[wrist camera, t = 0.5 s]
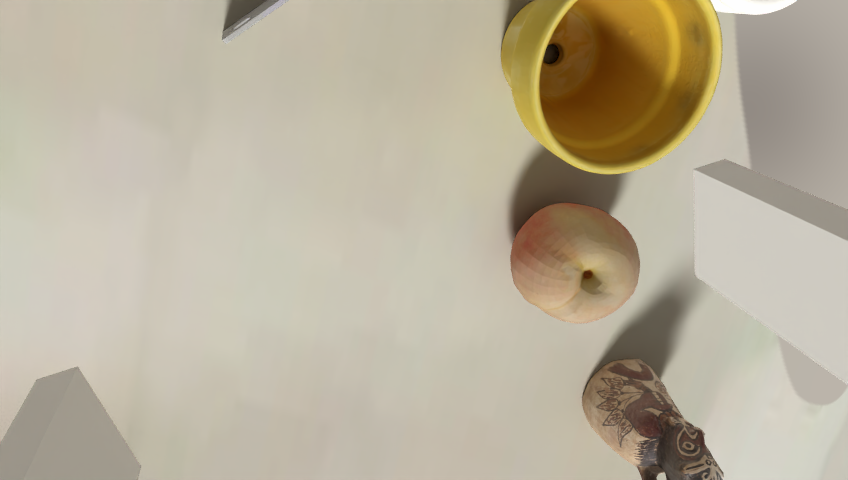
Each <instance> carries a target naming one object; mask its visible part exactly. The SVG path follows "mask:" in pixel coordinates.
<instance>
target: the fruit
mask: <svg viewBox="0 0 848 480" xmlns="http://www.w3.org/2000/svg"><path fill="white" fill-rule="evenodd" d="M639 270H640V260H639V254H638V249H637V246H636V243H635V241H634V239H633V238H632V236H631V234H630V233H629V231H628V230H627V229H626V228H625V227H624V226H623V225H622V224H621V223H620V222H619V221H618V220H616V219H615V218H614V217H612V216H611V215H609V214H608V213H606V212H605V211H603V210H601V209H598V208H594V207H590V206H586V205H581V204H575V203H558V204H552V205H549V206H547V207H544V208H542V209H541V210H539V211H537V212H536V213H535V214H534V215H533V216H532V217H530V218H529V219H528V220H527V222H526V223H525V224H524V225H523V226H522V228H521V229H520V230H519V232H518V233H517V235H516V237H515V240H514V242H513V246H512V251H511V271H512V276H513V281H514V284H515V286H516V287H517V289H518V290H519V291H520V293H521V294H522V295H523V297H524V298H525V299H526V300H527V301H528V302H529V303H531V304H533V305H535V306H537V307H538V308H540V309H541V310H543V311H544V312H545V313H547V314H548V315H550V316H552V317H554V318H557V319H559V320H562V321H566V322H571V323H588V322H592V321H595V320H599V319H601V318H603V317H605V316H607V315H609V314H611V313H613V312H614V311H616V310H617V309H618V308H620V307H621V306H622V305H623V304H624V303H625V302H626V301H627V300H628V299H629V298H630V296H631V295H632V294H633V292H634V290H635V288H636V286H637V283H638V277H639Z"/></svg>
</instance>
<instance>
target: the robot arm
mask: <svg viewBox="0 0 848 480" xmlns="http://www.w3.org/2000/svg"><path fill="white" fill-rule="evenodd" d="M694 250H695V276H696V277H697V278H699V279H700V280H701V281H703V282H704V283H706V284H707V285H708V286H710V287H711V288H713V289H714V290H715V291H717V292H718V293H720V294H721V295H722V296H724V297H725V298H727V299H728V300H729V301H731V302H732V303H734V304H735V305H736V306H738V307H739V308H741V309H742V310H743V311H745V312H746V313H748V314H749V315H750V316H752V317H753V318H755V319H756V320H757V321H759V322H760V323H762V324H763V325H764V326H766V327H767V328H769V329H770V330H771V331H773V332H774V333H776V334H777V335H778V336H780V337H781V338H783V339H784V340H785V341H787V342H788V343H790V344H791V345H792V346H794V347H795V348H797V349H798V350H799V351H801V352H802V353H804V354H805V355H806V356H808V357H809V358H811V359H812V360H814V361H815V362H816V363H818V364H819V365H820V366H822V367H823V368H825V369H826V370H827V371H829V372H830V373H832V374H833V375H834V376H836V377H837V378H839V379H840V380H841V381H843V382H844V383H846V384H847V385H848V209H845V208H843V207H840V206H838V205H835V204H833V203H830V202H828V201H826V200H823V199H821V198H818V197H816V196H814V195H811V194H809V193H806V192H804V191H801V190H799V189H797V188H794V187H792V186H789V185H787V184H784V183H782V182H780V181H777V180H775V179H772V178H770V177H767V176H765V175H763V174H760V173H757V172H755V171H753V170H750V169H748V168H746V167H743V166H741V165H738V164H736V163H733V162H731V161H729V160H726V159H724V160H721V161H717V162H714V163H711V164H708V165H705V166H702V167H699V168H696V169H694ZM140 468H141V465H140V463H139V462H138V460H137V459H136V457H135V456H134V454H133V452H132V451H131V449H130V448H129V446H128V445H127V443H126V441H125V440H124V438H123V437H122V435H121V434H120V432H119V431H118V429H117V427H116V426H115V424H114V423H113V421H112V420H111V418H110V416H109V415H108V413H107V412H106V410H105V409H104V407H103V405H102V404H101V402H100V401H99V399H98V398H97V396H96V394H95V393H94V391H93V390H92V388H91V387H90V385H89V383H88V382H87V380H86V379H85V377H84V376H83V374H82V372H81V371H80V369H79V368H78V367H75V368H71V369H68V370H65V371H62V372H59V373H56V374H53V375H50V376H46V377H43V378H40V379H37V380H36V382H35V383H34V385H33V387H32V389H31V390H30V392H29V394H28V396H27V397H26V399H25V401H24V403H23V405H22V406H21V408H20V410H19V412H18V413H17V415H16V417H15V419H14V420H13V422H12V424H11V426H10V427H9V429H8V431H7V433H6V434H5V436H4V438H3V440H2V441H1V443H0V480H138V476H139V472H140Z"/></svg>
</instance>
